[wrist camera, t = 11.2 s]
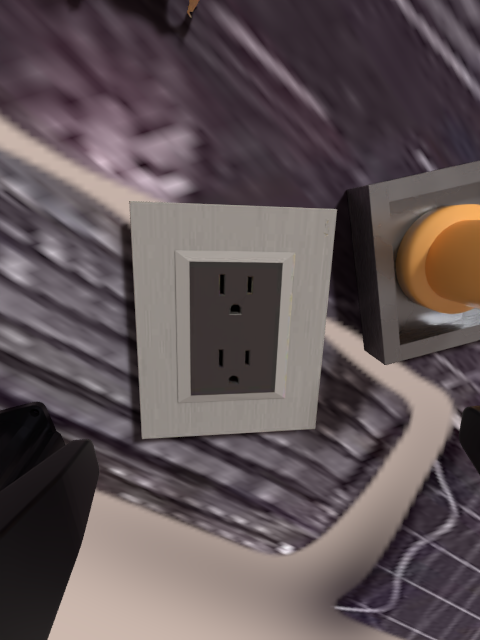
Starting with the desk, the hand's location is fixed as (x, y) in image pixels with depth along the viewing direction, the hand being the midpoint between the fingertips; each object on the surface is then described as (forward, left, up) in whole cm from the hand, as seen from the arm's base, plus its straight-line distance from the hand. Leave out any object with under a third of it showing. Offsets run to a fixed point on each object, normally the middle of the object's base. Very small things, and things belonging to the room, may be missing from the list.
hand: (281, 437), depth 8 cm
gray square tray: (+13, 0, -13) cm, 18 cm away
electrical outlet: (0, -1, -13) cm, 13 cm away
